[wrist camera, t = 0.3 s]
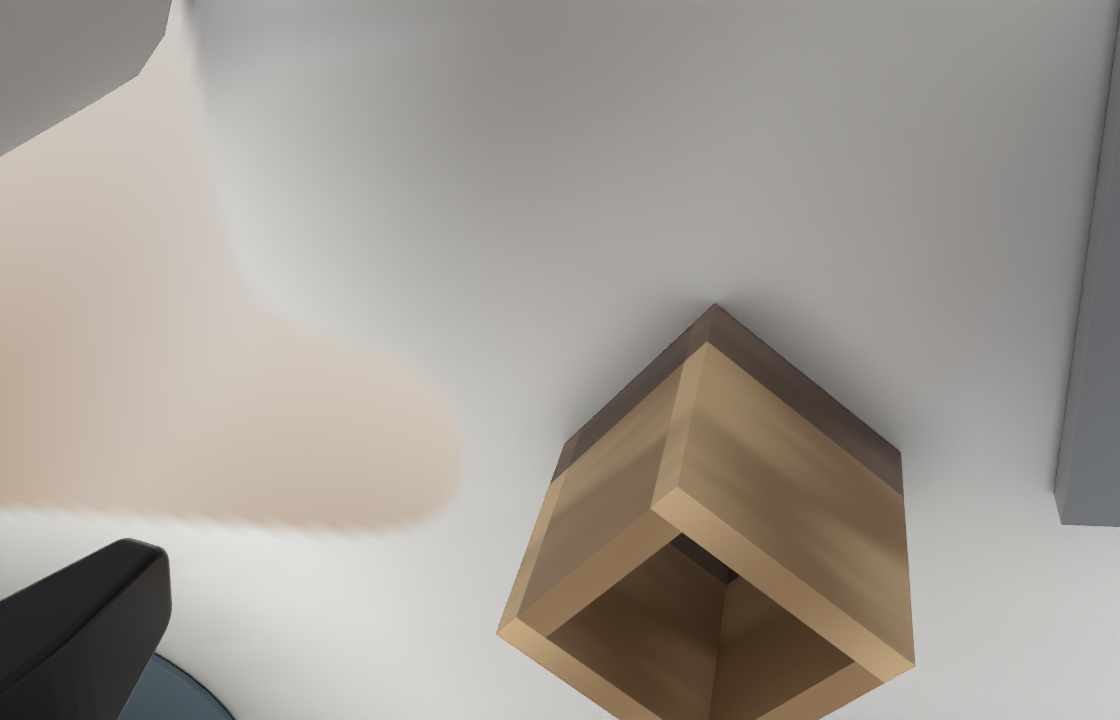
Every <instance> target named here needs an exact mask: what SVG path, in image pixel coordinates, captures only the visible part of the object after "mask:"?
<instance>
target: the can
mask: <svg viewBox="0 0 1120 720" xmlns="http://www.w3.org/2000/svg"><path fill="white" fill-rule="evenodd" d="M171 1H172V0H0V156H2V155H4V154H6V153H7V152H9V151H11V150H12V149H14V148H16V147H18V146H19V145H21V144H23V143H24V142H26V141H28V140H30V139H31V138H33V137H35V136H36V135H38V134H40V133H42V132H43V131H45V130H47V129H49V128H50V127H52V126H54V125H55V124H57V123H59V122H61V121H62V120H64V119H66V118H67V117H69V116H71V115H73V114H74V113H76V112H78V111H79V110H81V109H83V108H85V107H86V106H88V105H90V104H92V103H93V102H95V101H97V100H99V99H100V98H102V97H103V96H105V95H107V94H108V93H110V92H111V91H113V90H115V89H116V88H118V87H119V86H121V85H123V84H124V83H126V82H128V81H129V80H131V79H132V78H134V77H136V76H137V75H138V74H139V73H140V71H141V69H142V68H143V66H144V65H145V63H146V62H147V60H148V59H149V57H150V56H151V54H152V53H153V51H154V50H155V48H156V47H157V45H158V44H159V42H160V41H161V39H162V38H163V36H164V34H165V29H166V25H167V20H168V15H169V11H170V6H171Z"/></svg>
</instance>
